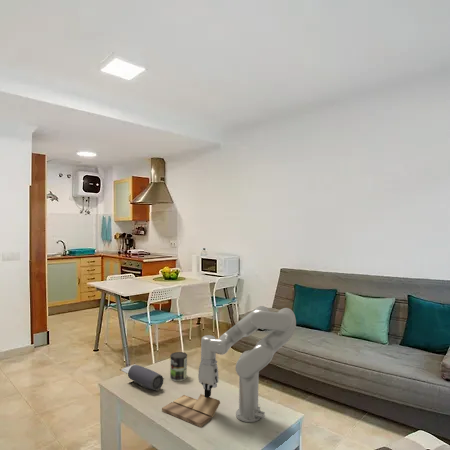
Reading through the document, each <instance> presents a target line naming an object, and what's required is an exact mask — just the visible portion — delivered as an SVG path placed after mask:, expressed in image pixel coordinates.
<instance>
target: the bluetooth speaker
mask: <svg viewBox="0 0 450 450" xmlns="http://www.w3.org/2000/svg"><path fill="white" fill-rule="evenodd" d="M132 365H133V366H131V365H130V366H131V368H130V369H129V372H128V374H127V376H128V378H129V379H130V380H132V381H133V382H135V383H137V384H138V385H139V386H140V387H142V388H144V389H148V390H153V391H159V390H160V389H161V388H162V387H163V384H164V380H163V378H164V377H163V375H162V374H160V373H159V372H156V371H154V370H152V369H149V368H147V367H145V366H142V365H138V364H135V365H134V364H132Z"/></svg>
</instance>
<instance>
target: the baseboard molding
mask: <svg viewBox="0 0 450 450" xmlns="http://www.w3.org/2000/svg"><path fill="white" fill-rule="evenodd" d="M133 365H136V364H135V363H133V364H129V363H128V364H126V365H125V366H123V367H120V369H119V371H120V372H123V373H125V374H127V373H128V372H129V369H130V368H131V366H133ZM164 379H165V377H163V381H164Z"/></svg>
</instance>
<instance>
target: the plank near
mask: <svg viewBox="0 0 450 450" xmlns="http://www.w3.org/2000/svg"><path fill="white" fill-rule="evenodd" d="M220 404H221V401H220V399H217V398H213V397H211V396H210V397H208V398H206V397H205V394H202V393H200V394H199V396H198V398H197V401H196V403H195V405H194V407H193V408H192V409H193V411H196V412H199V413H201V414H204V415H206V416H209V417H211V419H212V418H214V416H215V414H216V412H217V410H218V408H219V406H220Z"/></svg>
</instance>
